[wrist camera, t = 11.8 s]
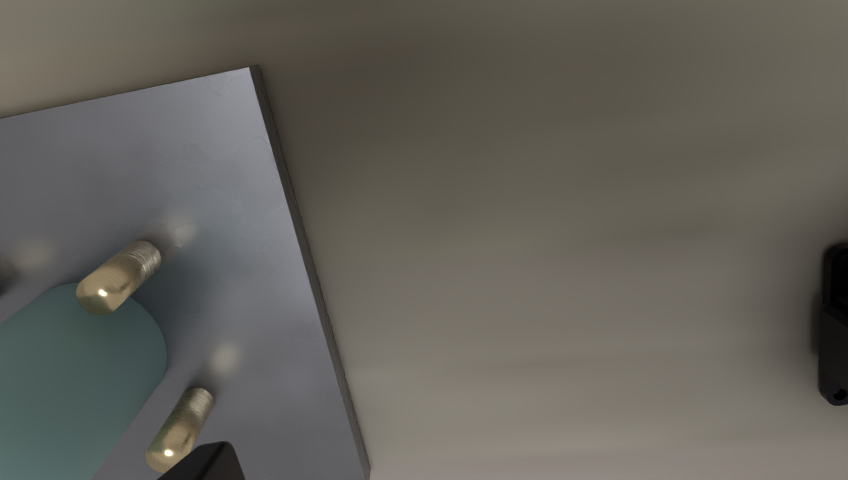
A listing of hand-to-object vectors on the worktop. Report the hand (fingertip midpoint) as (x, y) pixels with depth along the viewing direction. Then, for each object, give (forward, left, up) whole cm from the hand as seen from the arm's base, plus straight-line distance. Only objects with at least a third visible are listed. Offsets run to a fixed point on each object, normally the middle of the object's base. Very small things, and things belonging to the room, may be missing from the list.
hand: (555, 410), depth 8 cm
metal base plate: (+14, +3, -13) cm, 19 cm away
